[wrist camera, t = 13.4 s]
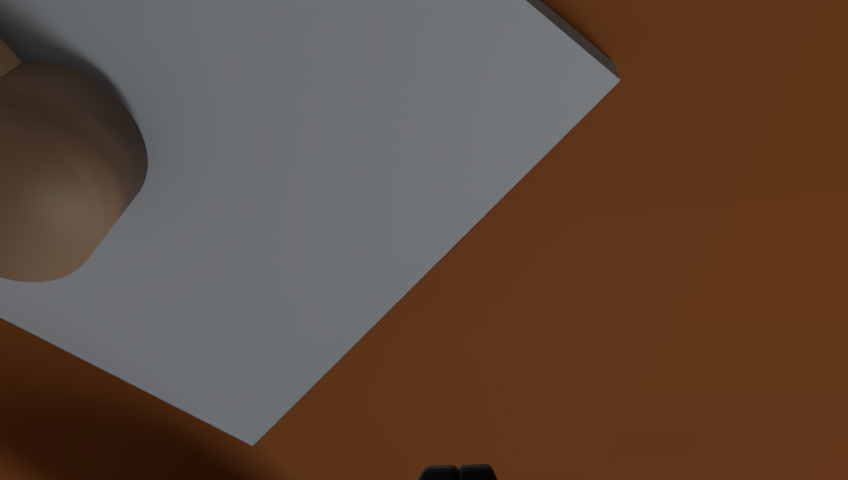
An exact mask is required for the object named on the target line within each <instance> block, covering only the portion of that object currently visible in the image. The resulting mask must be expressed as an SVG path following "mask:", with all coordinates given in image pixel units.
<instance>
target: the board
mask: <svg viewBox="0 0 848 480" xmlns="http://www.w3.org/2000/svg"><path fill="white" fill-rule="evenodd" d="M0 38H1V39H2V40H3V41H4V42H5V44H6V45H7V46H8V47H9V48H10V49H11V50H12V51H13V52H14V53H15V55H16V56H17V57H18V58H19V59H20V60H21V61H22V62H29V61H39V62H49V63H54V64H59V65H62V66H65V67H68V68H71V69H74V70H76V71H78V72H80V73H83V74H84V75H86V76H88V77H90V78H92V79H93V80H95V81H96V82H98V83H99V84H101V85H102V86H103V87H105V88H106V89H107V90H108V91H110V92H111V93H112V94H113V95H114V96H115V97H116V98H117V99H118V100H119V101H120V102H121V103H122V104H123V105H124V106H125V108H126V109H127V110H128V111H129V113H130V114H131V115H132V117H133V119H134V120H135V122H136V123H137V125H138V127H139V129H140V131H141V134H142V136H143V139H144V142H145V145H146V150H147V155H148V168H147V175H146V179H145V182H144V184H143V186H142V188H141V190H140V191H139V193H138V194H137V196H136V197H135V198H134V200H133V201H132V202H131V203H130V205H129V206H128V207H127V209H126V210H125V211H124V213H123V214H122V215H121V216H120V218H119V219H118V220H117V222H116V223H115V224H114V226H113V227H112V228H111V230H110V231H109V232H108V233H107V235H106V236H105V237H104V239H103V240H102V241H101V243H100V244H99V245H98V246H97V248H96V249H95V250H94V252H93V253H92V254H91V256H90V257H89V258H88V260H87V261H86V262H85V263H84V264H83V265H82V266H81V267H80V268H79V269H78V270H76V271H75V272H73V273H71V274H70V275H67V276H65V277H63V278H60V279H56V280H53V281H46V282H20V281H14V280H8V279H4V278H0V317H1V318H2V319H4V320H6V321H8V322H10V323H12V324H14V325H16V326H18V327H20V328H22V329H24V330H26V331H28V332H30V333H32V334H34V335H36V336H38V337H40V338H42V339H44V340H46V341H48V342H50V343H52V344H54V345H55V346H57V347H59V348H61V349H63V350H65V351H67V352H69V353H71V354H73V355H75V356H77V357H79V358H81V359H83V360H85V361H87V362H89V363H91V364H93V365H95V366H97V367H99V368H101V369H103V370H105V371H106V372H108V373H110V374H112V375H114V376H116V377H118V378H120V379H122V380H124V381H126V382H128V383H130V384H132V385H134V386H136V387H138V388H140V389H142V390H144V391H146V392H148V393H150V394H152V395H154V396H156V397H158V398H159V399H161V400H163V401H165V402H167V403H169V404H171V405H173V406H175V407H177V408H179V409H181V410H183V411H185V412H187V413H189V414H191V415H193V416H195V417H197V418H199V419H201V420H203V421H205V422H207V423H209V424H210V425H212V426H214V427H216V428H218V429H220V430H222V431H224V432H226V433H228V434H230V435H232V436H234V437H236V438H238V439H240V440H242V441H244V442H246V443H248V444H250V445H252V446H253V445H254V444H255V443H256V442H257V441H258V440H259V439H260V438H261V437H262V436H263V435H264V434H265V433H266V432H267V431H268V430H269V429H270V428H271V427H272V426H273V425H274V424H275V423H276V422H277V421H278V420H279V419H280V418H281V417H282V416H283V415H284V414H285V413H286V412H287V411H288V410H289V409H290V408H291V407H292V406H293V405H294V404H295V403H296V402H297V401H298V400H299V399H300V398H301V397H302V396H303V395H304V394H305V393H306V392H307V391H308V390H309V389H310V388H311V387H312V386H313V385H314V384H315V383H316V382H317V381H318V380H319V379H320V378H321V377H323V376H324V375H325V374H326V373H327V372H328V371H329V370H330V369H331V368H332V367H333V366H334V365H335V364H336V363H337V362H338V361H339V360H340V359H341V358H342V357H343V356H344V355H345V354H346V353H347V352H348V351H349V350H350V349H351V348H352V347H353V346H354V345H355V344H356V343H357V342H358V341H359V340H360V339H361V338H362V337H363V336H364V335H365V334H366V333H367V332H368V331H369V330H370V329H371V328H372V327H373V326H374V325H375V324H376V323H377V322H378V321H379V320H380V319H381V318H382V317H383V316H384V315H385V314H386V313H387V312H388V311H389V310H390V309H391V308H392V307H393V306H394V305H395V304H396V303H397V302H398V301H399V300H400V299H401V298H402V297H403V296H404V295H405V294H406V293H407V292H408V291H409V290H410V289H411V288H412V287H413V286H414V285H415V284H416V283H417V282H418V281H419V280H420V279H421V278H422V277H423V276H424V275H425V274H426V273H427V272H428V271H429V270H430V269H431V268H432V267H433V266H434V265H435V264H436V263H437V262H438V261H439V260H440V259H441V258H442V257H443V256H444V255H445V254H446V253H447V252H448V251H449V250H450V249H451V248H452V247H453V246H454V245H455V244H456V243H457V242H458V241H459V240H460V239H461V238H462V237H463V236H464V235H465V234H466V233H467V232H468V231H469V230H470V229H471V228H472V227H473V226H474V225H475V224H476V223H477V222H478V221H479V220H480V219H481V218H482V217H483V216H484V215H485V214H486V213H487V212H488V211H489V210H490V209H491V208H492V207H493V206H494V205H495V204H496V203H497V202H498V201H499V200H500V199H501V198H502V197H503V196H504V195H505V194H506V193H507V192H508V191H509V190H511V189H512V188H513V187H514V186H515V185H516V184H517V183H518V182H519V181H520V180H521V179H522V178H523V177H524V176H525V175H526V174H527V173H528V172H529V171H530V170H531V169H532V168H533V167H534V166H535V165H536V164H537V163H538V162H539V161H540V160H541V159H542V158H543V157H544V156H545V155H546V154H547V153H548V152H549V151H550V150H551V149H552V148H553V147H554V146H555V145H556V144H557V143H558V142H559V141H560V140H561V139H562V138H563V137H564V136H565V135H566V134H567V133H568V132H569V131H570V130H571V129H572V128H573V127H574V126H575V125H576V124H577V123H578V122H579V121H580V120H581V119H582V118H583V117H584V116H585V115H586V114H587V113H588V112H589V111H590V110H591V109H592V108H593V107H594V106H595V105H596V104H597V103H598V102H599V101H600V100H601V99H602V98H603V97H604V96H605V95H606V94H607V93H608V92H609V91H610V90H611V89H612V88H613V87H614V86H615V85H616V84H617V83H618V82H619V81H620V78H619V75H618V73H617V70H616V68H615V66H614V63H613V61H611V60H610V59H609V58H608V57H607V56H606V55H604V54H603V53H602V52H601V51H600V50H599V49H597V48H596V47H595V46H594V45H593V44H591V43H590V42H589V41H588V40H587V39H586V38H584V37H583V36H582V35H581V34H580V33H579V32H577V31H576V30H575V29H574V28H573V27H572V26H570V25H569V24H568V23H567V22H566V21H564V20H563V19H562V18H561V17H560V16H559V15H557V14H556V13H555V12H554V11H553V10H552V9H550V8H549V7H548V6H547V5H546V4H544V3H543V2H542V1H541V0H0Z"/></svg>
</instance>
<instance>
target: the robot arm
mask: <svg viewBox="0 0 848 480" xmlns="http://www.w3.org/2000/svg"><path fill="white" fill-rule="evenodd" d="M418 480H497V478H496V475H495V473H494V471H493V469H492V467H491V466H490V465H488V464H476V465H463V466H461V467H460V468H459V470H458V468H457V467H456V466H453V465H443V466H428V467H427V468H425V469H424V471H423V472H422V474H421V475H420V477H419V479H418Z"/></svg>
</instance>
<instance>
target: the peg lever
mask: <svg viewBox="0 0 848 480" xmlns="http://www.w3.org/2000/svg"><path fill="white" fill-rule="evenodd" d="M147 168H148V155H147V150H146V145H145V142H144V139H143V136H142V134H141V131H140V129H139V127H138V125H137V123H136V122H135V120H134V119H133V117H132V115H131V114H130V113H129V111H128V110H127V109H126V108H125V106H124V105H123V104H122V103H121V102H120V101H119V100H118V99H117V98H116V97H115V96H114V95H113V94H112V93H111V92H110V91H108V90H107V89H106V88H105V87H103V86H102V85H101V84H99V83H98V82H96V81H95V80H93V79H92V78H90V77H88V76H86V75H84V74H83V73H80V72H78V71H76V70H74V69H71V68H68V67H65V66H62V65H59V64H54V63H49V62H39V61H29V62H22V61H21V60H20V59H19V58H18V57H17V56H16V55H15V53H14V52H13V51H12V50H11V49H10V48H9V47H8V46H7V45H6V44H5V42H4V41H3V40H2V39H1V38H0V278H4V279H8V280H14V281H20V282H46V281H53V280H56V279H60V278H63V277H65V276H67V275H70V274H71V273H73V272H75V271H76V270H78V269H79V268H80V267H81V266H82V265H83V264H84V263H85V262H86V261H87V260H88V258H89V257H90V256H91V254H92V253H93V252H94V250H95V249H96V248H97V246H98V245H99V244H100V243H101V241H102V240H103V239H104V237H105V236H106V235H107V233H108V232H109V231H110V230H111V228H112V227H113V226H114V224H115V223H116V222H117V220H118V219H119V218H120V216H121V215H122V214H123V213H124V211H125V210H126V209H127V207H128V206H129V205H130V203H131V202H132V201H133V200H134V198H135V197H136V196H137V194H138V193H139V191H140V190H141V188H142V186H143V184H144V182H145V179H146V175H147Z"/></svg>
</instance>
